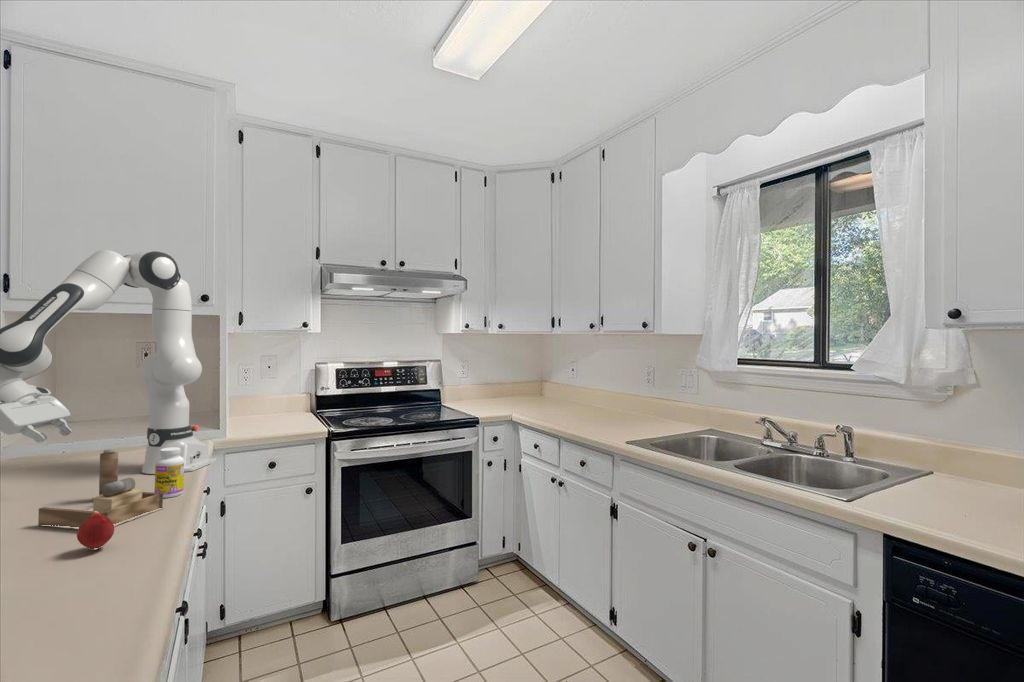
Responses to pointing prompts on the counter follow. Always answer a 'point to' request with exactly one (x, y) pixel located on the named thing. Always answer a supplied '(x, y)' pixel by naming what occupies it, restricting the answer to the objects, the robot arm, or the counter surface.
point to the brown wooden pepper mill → (108, 468)
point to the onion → (95, 531)
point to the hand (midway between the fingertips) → (56, 437)
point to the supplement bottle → (169, 473)
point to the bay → (115, 515)
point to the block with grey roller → (116, 495)
